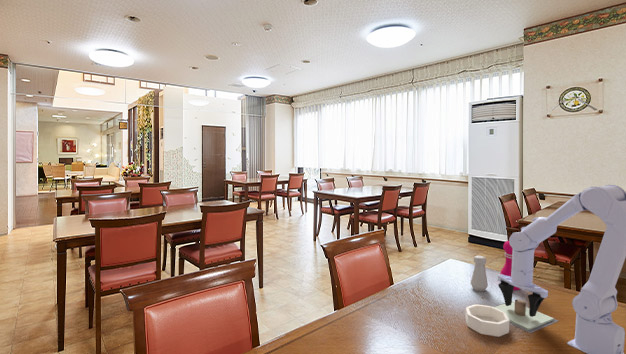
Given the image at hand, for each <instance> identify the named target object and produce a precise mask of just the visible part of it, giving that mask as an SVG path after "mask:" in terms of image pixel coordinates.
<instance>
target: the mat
mask: <svg viewBox="0 0 626 354" xmlns="http://www.w3.org/2000/svg"><path fill="white" fill-rule="evenodd" d="M502 304H505V302H504V303H500V304H498V305H494V306H493V307H496V306H499V305H502ZM557 322H559V320H558V319H556V318H554V320H553V321H550V322H548V323H545V324H543V325H541V326H538V327H536V328H534V329H531V330H527V329H525V328H522V327H520V326H518V325H516V324H514V323H512V322H510V321H509V325H512V326H514V327H517V328H518V329H521V330H522V331H525V332H527V333H529V334H532V333H535V332H536V331H540V330H541V329H544V328H546V327H549V326H551V325H553V324H555V323H557Z"/></svg>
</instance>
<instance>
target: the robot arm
mask: <svg viewBox="0 0 626 354" xmlns="http://www.w3.org/2000/svg"><path fill="white" fill-rule="evenodd" d="M583 211H584V212H585V211H589V212H591V213H592V214H593V215H595V216H597V217H598V218H599V219H600V220H601V221H602V222H603V223H604V224H605V225H606V228H605V230H604V234H603V236H602V240H601V243H600V245H599V249H598V251H597V254H596V257H595V260H594V263H593V265H592V269H591V272H590V274H589V275H590V276H589V278H588V280H587V282H586V283H585V284H584V285H583V286H582V288H580V291H579V293H578V294H577V295H576V296H574V297H573V299H572V302H571V304H572V309H573V310H574V312H575V313H576V315H575V328H574V330H575V331H574V332H575V333H574V338H573V339H571V340H569V341H568V342H567V343H566V344H567V345H569V346H571V347H572V348H575V349H577V350H579V351H581V352H583V353H586V354H625V353H624V350H625V338H626V331H625V328H624V327H622V326H621V325H619V324H617V323H616V322H614V321H613V316H612V313H613V312H615V311H617V308H618V305H619V304H618V300H617V295H618V290H617V288H616V285H617V282H618V279H619V278H620V277H619V276H620V274H621V272H622V270H623V269H622V268H623V266H624V263H625V260H626V191H625V190H624V189H623V188H622V187H621V186H618V185H616V184H604V185H601V186H597V185H596V186H595V185H594V186H589V187H587V188H584V189H583V190H582V191H581V192H579V193H576V194H574V195H573V196H572V197H571V198H570V199H568V201H566V202H565V203H563V204H562V205H560V207H558V208H557V209H556V210H555V211H553V212H552V213H550V215H548V216H547V217H546V216H539V217H534V218H532V219H531V220H532V222H531V223H530V224H528V225H526V226H522V227H521V228H520V230H521V231H518V232H517V231H516V232H512V234H511V235H510V236H509V237H508V238H509V239H508V241H509V243H510V246H511V247H512V248H513V252H512V272H511V277H510V276H505V275H502V274H501V275H500V274H498V275H497V282H499V283H498V284H497V285H498V288H499V289H500V291H501V294H502V296H503V301H504V303H505V305H506V306H509V305H511V304H512V301H513V293H514V290H513V289H514V286H515V287H518V288H520V290H524V291H527V292H529V293H531V294H528V295H527V299H528V302H529V303H528V304H529V308H530V309H529V315H530V316H531V317H533V316H536V312H537V311H538V310H539V307H540V306H541V304H542V303H543V301H544V300H545V299H546V298H548V297H549V290H547V289H544V288H543V287H540V286H539V285H538V284H537V285H536V284H535V283H533V281H534V261H535V260H534V259H535V252H536V251H535V250H536V249H537V248H538V247H539V244H540V243H542V242H544V241H545V240H547V239H548V238H550V237H551V236H553V235H554V234H556V233H557V228H558V226H559V225H561V224H563V223H564V222H566V221H567V220H569V219H571V218H572V217H574V216H575V215H577V214H579V213H581V212H583Z"/></svg>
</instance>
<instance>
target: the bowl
mask: <svg viewBox="0 0 626 354" xmlns="http://www.w3.org/2000/svg"><path fill="white" fill-rule="evenodd" d="M464 317H465V322H466V326H467V327H469V328H470V329H472V330H473V331H475V332H477V333H479V334H480V335H484V336H485V335H487V336H491V337H502V336H504V335H506V334H509V333H510V323H509V321H510V320H509V318H508V316H507V315H506V313H505V312H503V311H501V310H498V309H496V308H494V306H491V305H485V304H472V305H470V306H466V307H465V316H464Z"/></svg>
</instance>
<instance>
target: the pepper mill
mask: <svg viewBox="0 0 626 354" xmlns="http://www.w3.org/2000/svg"><path fill="white" fill-rule="evenodd" d="M502 247H503V251H504V255H503V256H504V257H505V262H504V265H503V267H502V268H501V270H500V273H499V275H501V274H502V275H505V276H510V277H511V272H512V252H513V248H512V247H511V246H510V243H509V240H506V241H505V242H504V243H503V246H502ZM519 290H521V288H518V287H515V286H514V289H513V291H519Z"/></svg>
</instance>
